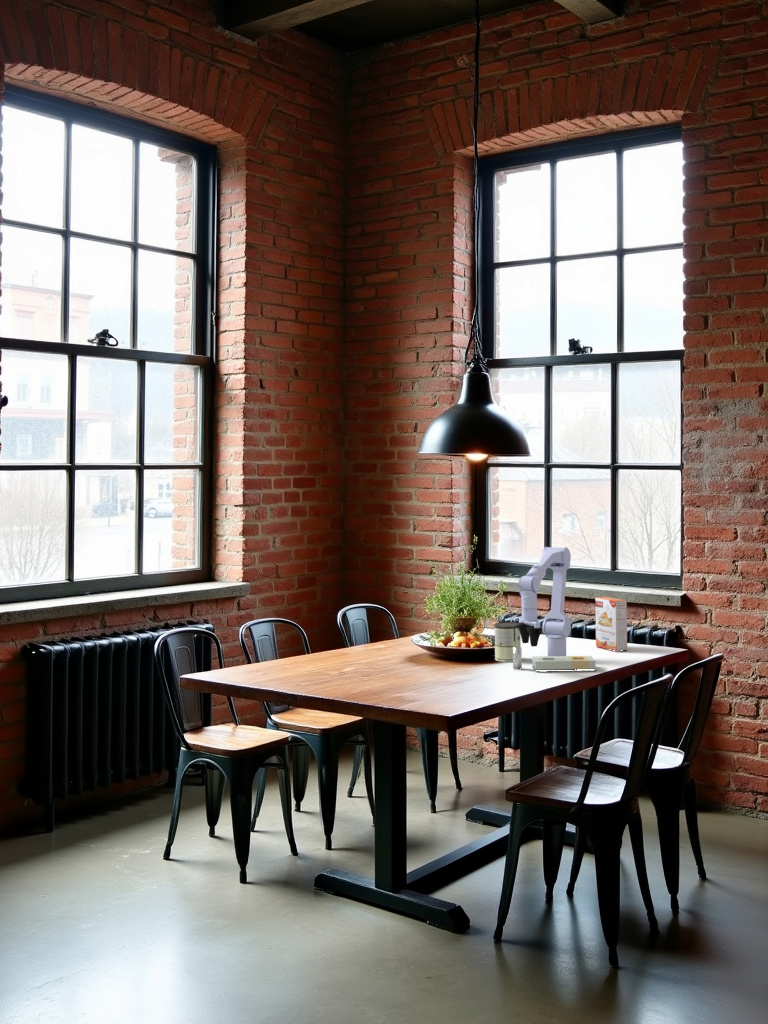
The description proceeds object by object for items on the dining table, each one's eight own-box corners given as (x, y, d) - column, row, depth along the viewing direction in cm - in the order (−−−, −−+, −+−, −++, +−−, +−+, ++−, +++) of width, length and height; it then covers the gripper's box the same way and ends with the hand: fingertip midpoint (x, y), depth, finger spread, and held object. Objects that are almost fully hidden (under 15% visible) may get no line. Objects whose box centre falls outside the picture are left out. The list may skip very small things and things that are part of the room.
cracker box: (595, 647, 450) (594, 597, 449) (606, 646, 453) (606, 596, 452) (615, 652, 437) (615, 600, 436) (627, 651, 440) (627, 599, 439)
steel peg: (512, 668, 409) (512, 647, 409) (521, 667, 409) (521, 646, 409) (513, 669, 406) (513, 648, 405) (522, 669, 406) (521, 648, 405)
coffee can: (494, 657, 432) (494, 622, 431) (520, 657, 431) (520, 622, 430) (494, 662, 422) (494, 626, 421) (521, 662, 421) (520, 625, 420)
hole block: (532, 667, 410) (532, 656, 410) (591, 666, 409) (591, 655, 409) (535, 672, 400) (535, 661, 400) (595, 671, 400) (595, 660, 399)
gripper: (511, 606, 409) (511, 642, 410) (527, 611, 395) (528, 648, 396) (528, 605, 411) (529, 641, 412) (545, 610, 397) (545, 647, 398)
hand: (529, 644), depth 404 cm, fingers open, 7 cm apart
